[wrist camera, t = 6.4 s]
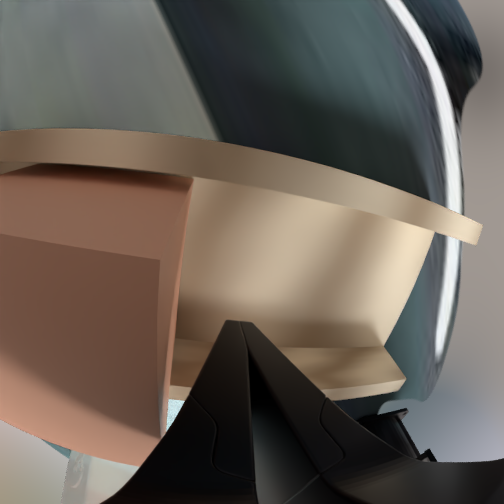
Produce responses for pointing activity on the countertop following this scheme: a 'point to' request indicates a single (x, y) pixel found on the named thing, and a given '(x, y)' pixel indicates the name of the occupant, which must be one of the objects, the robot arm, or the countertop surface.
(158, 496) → the robot arm
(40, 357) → the block
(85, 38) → the countertop surface
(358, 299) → the chute
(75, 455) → the jar
